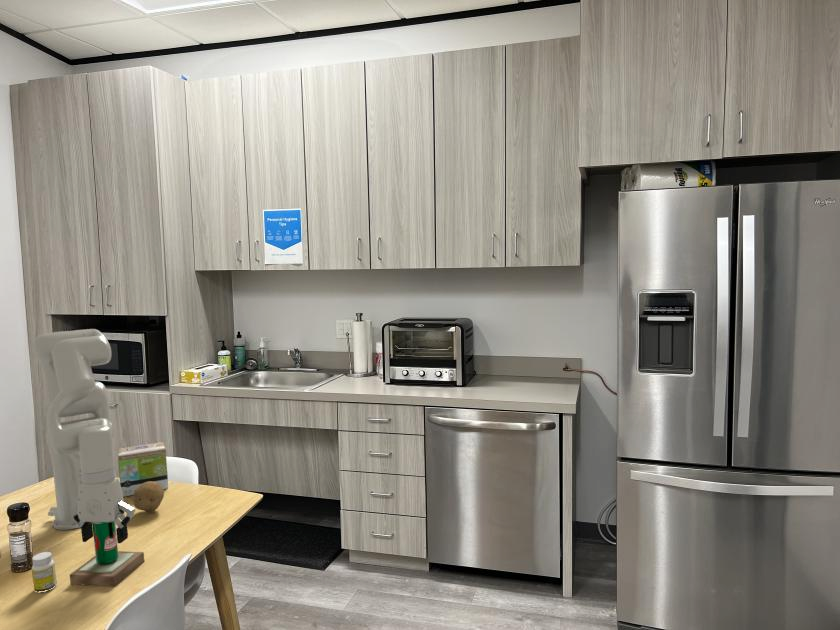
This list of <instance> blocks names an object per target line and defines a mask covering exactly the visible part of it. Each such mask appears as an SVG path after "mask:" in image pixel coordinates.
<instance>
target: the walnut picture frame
mask: <svg viewBox="0 0 840 630" xmlns="http://www.w3.org/2000/svg"><path fill="white" fill-rule="evenodd" d="M144 562H145V553H144V551H123V550H122V551H121V550H118V558H117V560H116V561H115V562H113V563H111V564H107V565H99V564H98V563H96V555H94V556H93V557H92V558H90V559H89V560H87V561H86V562H84V563H83V564H82V565H81V566H79V567H78V568H77V569H75V570H74V571H72V572H71V573H70V574H69V581H70V585H71V584H84V585H83V586H90V585H97V586H96V587H113V588H114V587H117V586H118V585H119V584H120V583H121V582H122V581H123V580H125V579H126V578H127V577H128V576H130V575H131V573H133V572H134V571H136V570H137V568H139V567H140V566H141V565H142V564H143V563H144Z"/></svg>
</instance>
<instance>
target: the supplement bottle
mask: <svg viewBox="0 0 840 630" xmlns="http://www.w3.org/2000/svg"><path fill="white" fill-rule="evenodd" d="M55 567H56V563H55V560H53V555H52V552H50V551H43V552H39V553H37V554H35V555H33V556H32V567H31V573H32V575H31V576H32V582H33V591H34V590H35V591H37V592H39V591H45V590H49V589H51V588H53V587H54V586H56V587H57V585H58V582H57V574H56V573H57V572H56V568H55ZM56 584H57V585H56ZM35 591H34V592H35Z"/></svg>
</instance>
